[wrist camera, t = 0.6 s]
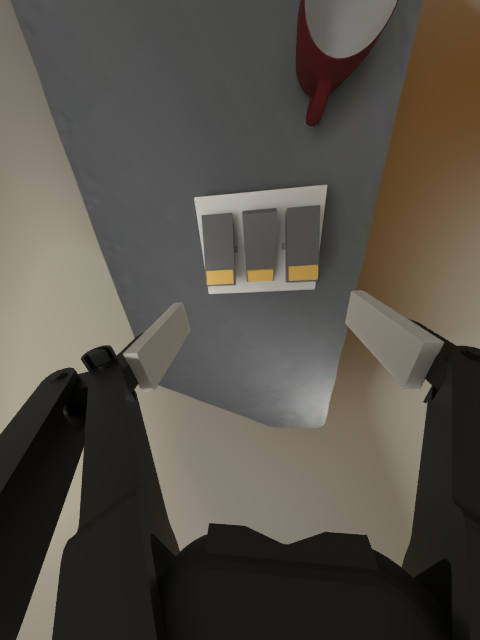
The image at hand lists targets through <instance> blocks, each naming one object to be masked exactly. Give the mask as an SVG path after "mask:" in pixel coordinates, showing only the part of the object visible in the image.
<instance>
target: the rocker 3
mask: <svg viewBox="0 0 480 640" xmlns="http://www.w3.org/2000/svg"><path fill="white" fill-rule="evenodd" d="M319 244H320V205H314V206H303V207H291V208H287V209H286V212H285V281H286V283H294V282H315V281H319Z"/></svg>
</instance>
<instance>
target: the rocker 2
mask: <svg viewBox="0 0 480 640" xmlns="http://www.w3.org/2000/svg"><path fill="white" fill-rule="evenodd" d="M277 212H278V211H277V208H269V209H257V210H246V211H242V221H243V234H244V248H245V262H246V275H247V282H258V281H274V271H275V251H276V231H277Z"/></svg>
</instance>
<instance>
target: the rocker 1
mask: <svg viewBox="0 0 480 640" xmlns="http://www.w3.org/2000/svg"><path fill="white" fill-rule="evenodd" d="M201 216H202V230H203V244H204V258H205V272H206V286H209V287H210V286H231V285H236V264H235V242H234V220H233V215H232V213H222V214H211V215H201Z"/></svg>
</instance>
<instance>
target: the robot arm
mask: <svg viewBox="0 0 480 640" xmlns="http://www.w3.org/2000/svg"><path fill="white" fill-rule="evenodd" d="M345 324H346V325H347V326H348V327H349V328H350V329H351V330H352V331H353V333H354V334H355V335H356V336H357V337H358V338H359V339H360V340H361V342H363V344H364V345H365V346H366V347H367V348H368V349H369V350H370V352H371V353H372V354H373V355H374V356H375V357H376V358H377V359H378V361H379V362H380V363H381V364H382V365H383V366H384V367H385V369H386V370H387V371H388V372H389V373H390V374H391V375H392V376H393V378H394V379H395V380H396V381H397V382H398V383H399V384H400V385H401V387H402V388H403V389H420V388H421V386H422V385H423V383H424V381H425V379H426V380H427V381H428V382H429V383H430V384H431V385H432V387H431V389H430V391H429V392H428V394H427V396H426V398H425V400H424V403H427V402H428V404H427V412H426V421H425V429H424V437H423V445H422V453H421V462H420V470H419V478H418V486H417V494H416V502H415V511H414V519H413V527H412V536H411V540H410V544H409V547H408V549H407V552H406V554H405V557H404V561H403V565H402V567H400V566H399V565H397V564H396V563H394V562H393V561H392V560H391V559H389V558H388V557H386V556H384V555H383V554H381V553H379V552H377V551H375V550H373V549H372V548H371V545H370V543H369V540H368V537H367V535H358V534H344V533H331V532H324V533H321V534H318V535H315V536H312V537H309V538H306V539H303V540H300V541H297V542H294V543H292V544H288V545H287V544H282V543H279V542H278V541H275V540H273V539H271V538H269V537H267V536H265V535H263V534H261V533H259V532H256V531H254V530H252V529H250V528H248V527H246V526H239V525H226V524H213V523H210V524H209V528H208V534H207V535H204V536H202V537H200V538H198V539H196V540H194V541H193V542H192V543H190V544H189V545H187V546H186V547H185V548H184V549H183V550H182V551H179V547H178V544H177V541H176V538H175V535H174V533H173V530H172V528H171V526H170V523H169V520H168V516H167V512H166V508H165V505H164V500H163V497H162V493H161V489H160V485H159V481H158V477H157V473H156V469H155V465H154V461H153V457H152V453H151V449H150V446H149V441H148V437H147V433H146V429H145V426H144V421H143V417H142V413H141V410H140V406H139V402H138V398H137V394H136V392H135V390H134V389H135V388H136V386H137V385H138V384H139V386H140V388H141V390H142V391H155V389H156V387H157V386H158V384H159V382H160V381H161V379H162V377H163V376H164V374H165V372H166V371H167V369H168V367H169V366H170V364H171V362H172V361H173V359H174V357H175V356H176V354H177V352H178V351H179V349H180V347H181V346H182V344H183V342H184V341H185V339H186V337H187V336H188V334H189V332H190V327H189V323H188V320H187V316H186V312H185V308H184V305H183V302H180V303H173V304H172V305H171V306H170V307H169V308H168V309H167V310H166V311H165V312H164V313H163V314H162V315H161V316H160V317H159V318H158V319H157V320H156V321H155V322H154V323H153V324H152V325H151V326H150V327H149V328H148V329H147V330H146V331H145V332H144V333H142V334H140V335H139V336H137V337H136V338H135V339H134V340H133V341H132V342H131V343H130V344H129V345H128V346H127V347H125V348H124V350H122V351H121V352H120V353H119V354H118V355H117V356H116V354H115V353H114V351H113V349H112V347H111V346H108V345H105V346H100V347H97V348H94V349H92V350H90V351H88V352H87V353H85V354H84V355H83V356H82V358H81V360H82V362H83V363H84V365H85V366H86V368H87V369H88V371H89V372H85V373H81V374H77V372H76V371H75V370H74V368H65V369H62V370H58V371H56V372H54V373H52V374H51V375H49V376H48V377H46V378H45V379H44V380H43V381H42V382H41V383H40V385H39V386H38V387H37V389H36V390H35V391H34V393H33V394H32V395H31V396H30V397H29V399H28V400H27V401H26V403H25V404H24V405H23V406H22V408H21V409H20V410H19V411H18V413H17V414H16V415H15V417H14V418H13V419H12V420H11V422H10V423H9V424H8V425H7V427H6V428H5V429H4V431H3V432H2V433H1V434H0V640H16V638H17V635H18V633H19V630H20V627H21V624H22V622H23V619H24V616H25V613H26V610H27V607H28V605H29V602H30V599H31V596H32V593H33V590H34V588H35V585H36V582H37V579H38V576H39V573H40V571H41V568H42V565H43V562H44V559H45V556H46V553H47V551H48V548H49V545H50V542H51V539H52V536H53V533H54V531H55V528H56V525H57V522H58V519H59V516H60V513H61V511H62V508H63V505H64V502H65V499H66V496H67V493H68V491H69V488H70V485H71V482H72V479H73V476H74V473H75V470H76V467H77V465H78V462H79V459H80V456H81V453H82V450H83V448H84V458H83V473H82V488H81V503H80V519H79V528H78V531H77V533H76V534H75V535H74V536H73V537H72V538H70V539H69V540H68V541H67V544H66V546H65V548H64V550H63V555H62V560H61V566H60V575H59V584H58V592H57V601H56V610H55V618H54V627H53V636H52V640H480V349H478V348H475V347H468V346H456V345H454V344H453V343H451V342H449V341H448V340H446V339H444V338H443V337H441V336H440V335H438V334H436V333H434V332H433V331H432V330H430V329H427V327H425V326H423V325H422V324H420V323H418V322H416V321H413V320H410V319H407V318H405V317H404V316H402V315H401V314H399V313H397V312H396V311H394V310H393V309H391V308H390V307H388V306H386V305H385V304H383V303H382V302H380V301H379V300H377V299H375V298H374V297H372V296H371V295H369V294H368V293H366V292H364V291H363V290H356V291H351V295H350V300H349V306H348V311H347V316H346V321H345Z"/></svg>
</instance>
